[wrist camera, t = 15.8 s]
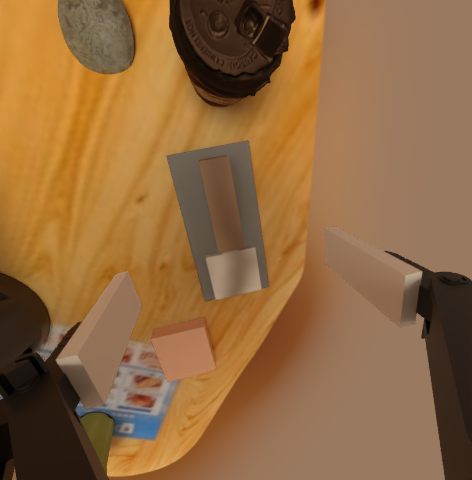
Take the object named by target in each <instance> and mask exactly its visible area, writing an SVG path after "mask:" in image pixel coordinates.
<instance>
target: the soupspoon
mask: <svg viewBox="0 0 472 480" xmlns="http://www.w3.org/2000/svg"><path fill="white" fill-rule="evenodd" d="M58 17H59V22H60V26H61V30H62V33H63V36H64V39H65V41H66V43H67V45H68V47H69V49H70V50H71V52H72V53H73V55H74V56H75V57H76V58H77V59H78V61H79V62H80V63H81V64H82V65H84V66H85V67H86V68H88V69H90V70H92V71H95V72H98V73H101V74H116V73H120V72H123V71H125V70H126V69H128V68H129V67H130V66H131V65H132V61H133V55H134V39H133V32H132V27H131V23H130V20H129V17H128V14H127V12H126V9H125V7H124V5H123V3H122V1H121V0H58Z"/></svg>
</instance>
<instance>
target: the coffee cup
mask: <svg viewBox="0 0 472 480" xmlns="http://www.w3.org/2000/svg"><path fill="white" fill-rule="evenodd" d="M295 18H296V17H295V10H294V7H293V0H170V16H169V28H170V30H171V32H172V36H173V40H174V43H175V46H176V49H177V52H178V54H179V56H180V57H181V59H182V61H183V63H184V65H185V68H186V71H187V73H188V76H189V78H190V80H191V83H192V85H193V86H194V88H195V91H196V92H197V94H198V95H199V96H200V97H201V98H202V99H203V100H204V101H205V102H206V103H208V104H210V105H212V106H218V107H226V106H229V105H232V104H233V103H235V102H237V101H239V100H241V99H242V98H245V97H247V96H250V95H251V96H255V94H256V92H257V91H258V90H260V89H261V88H262V87H264V86H265V85H266V84H267V83H270V76H271V74H272V73H273V72H274V71H275V70H276V69H277V68H278V67H279V66H280V64H281V59H282V54H283V52H286V51H288V46H289V42H288V36H289V33H290V30H291V24H292V23H293V22H294V20H295Z"/></svg>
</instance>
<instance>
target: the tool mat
mask: <svg viewBox="0 0 472 480" xmlns="http://www.w3.org/2000/svg"><path fill="white" fill-rule="evenodd" d="M219 156H229V160H230V166H231V172H232V177H233V183H234V189H235V194H236V200H237V206H238V212H239V217H240V223H241V229H242V235H243V240H244V246H245V247H248V246H253V245H254V246H255V250H256V256H257V262H258V269H259V275H260V281H261V288H266V287H269V281H268V274H267V267H266V260H265V253H264V246H263V239H262V232H261V225H260V218H259V211H258V204H257V197H256V190H255V183H254V176H253V169H252V162H251V154H250V147H249V141H243V142H238V143H232V144H227V145H222V146H216V147H211V148H205V149H200V150H195V151H189V152H184V153H178V154H173V155H168V156H167V160H168V164H169V167H170V171H171V175H172V179H173V182H174V186H175V190H176V194H177V197H178V201H179V205H180V209H181V212H182V216H183V220H184V224H185V227H186V231H187V235H188V239H189V242H190V246H191V250H192V253H193V257H194V261H195V265H196V268H197V272H198V276H199V280H200V283H201V287H202V291H203V295H204V298H205V301H210V300H214V299H215V294H214V290H213V286H212V282H211V278H210V274H209V270H208V266H207V262H206V257H205V256H207V255H211V254H216V253H219V252H218V247H217V243H216V238H215V234H214V229H213V224H212V220H211V215H210V211H209V206H208V202H207V197H206V193H205V188H204V184H203V179H202V175H201V170H200V166H199V160H203V159H208V158H213V157H219Z"/></svg>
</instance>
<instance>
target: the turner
mask: <svg viewBox="0 0 472 480" xmlns="http://www.w3.org/2000/svg"><path fill="white" fill-rule="evenodd" d="M199 166H200V170H201V175H202V179H203V184H204V188H205V193H206V197H207V202H208V206H209V211H210V215H211V220H212V224H213V229H214V234H215V238H216V243H217V247H218V252H219V253H216V254H211V255H207V256H205V257H206V262H207V266H208V270H209V274H210V278H211V282H212V286H213V290H214V294H215V299H216V300H219V299H223V298H228V297H232V296H236V295H241V294H245V293H249V292H253V291H258V290H262V288H261V281H260V275H259V269H258V262H257V256H256V250H255V246H254V245H253V246H248V247H245V246H244V240H243V235H242V229H241V223H240V217H239V212H238V206H237V200H236V194H235V189H234V183H233V177H232V172H231V166H230V160H229V156H219V157H213V158H208V159H203V160H199Z"/></svg>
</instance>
